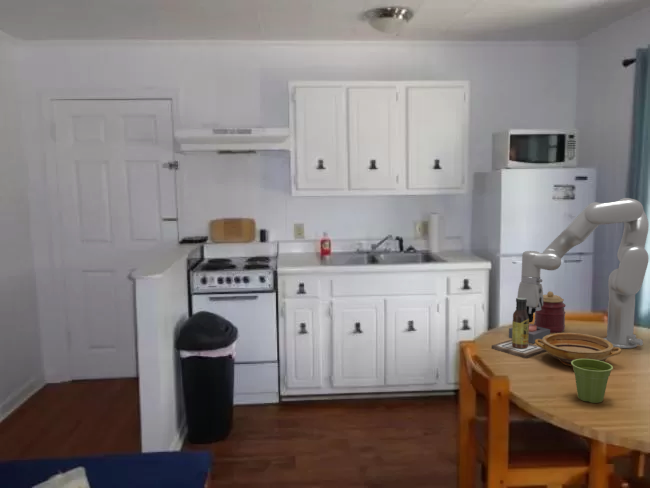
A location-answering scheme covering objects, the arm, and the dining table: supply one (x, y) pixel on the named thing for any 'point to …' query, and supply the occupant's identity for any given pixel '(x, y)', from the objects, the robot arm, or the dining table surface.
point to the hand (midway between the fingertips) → (528, 321)
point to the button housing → (534, 334)
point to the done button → (532, 328)
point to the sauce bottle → (520, 324)
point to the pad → (519, 349)
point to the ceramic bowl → (577, 347)
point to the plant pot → (591, 379)
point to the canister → (551, 313)
